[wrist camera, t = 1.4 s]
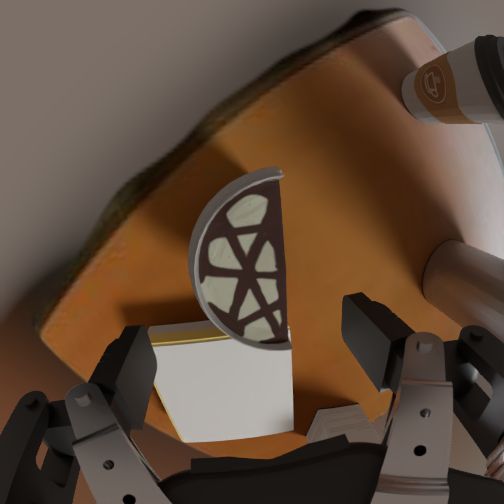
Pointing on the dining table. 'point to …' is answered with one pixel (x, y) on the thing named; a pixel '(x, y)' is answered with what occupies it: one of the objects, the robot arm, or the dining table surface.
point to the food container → (243, 261)
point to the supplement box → (342, 425)
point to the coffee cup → (460, 85)
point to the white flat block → (220, 383)
